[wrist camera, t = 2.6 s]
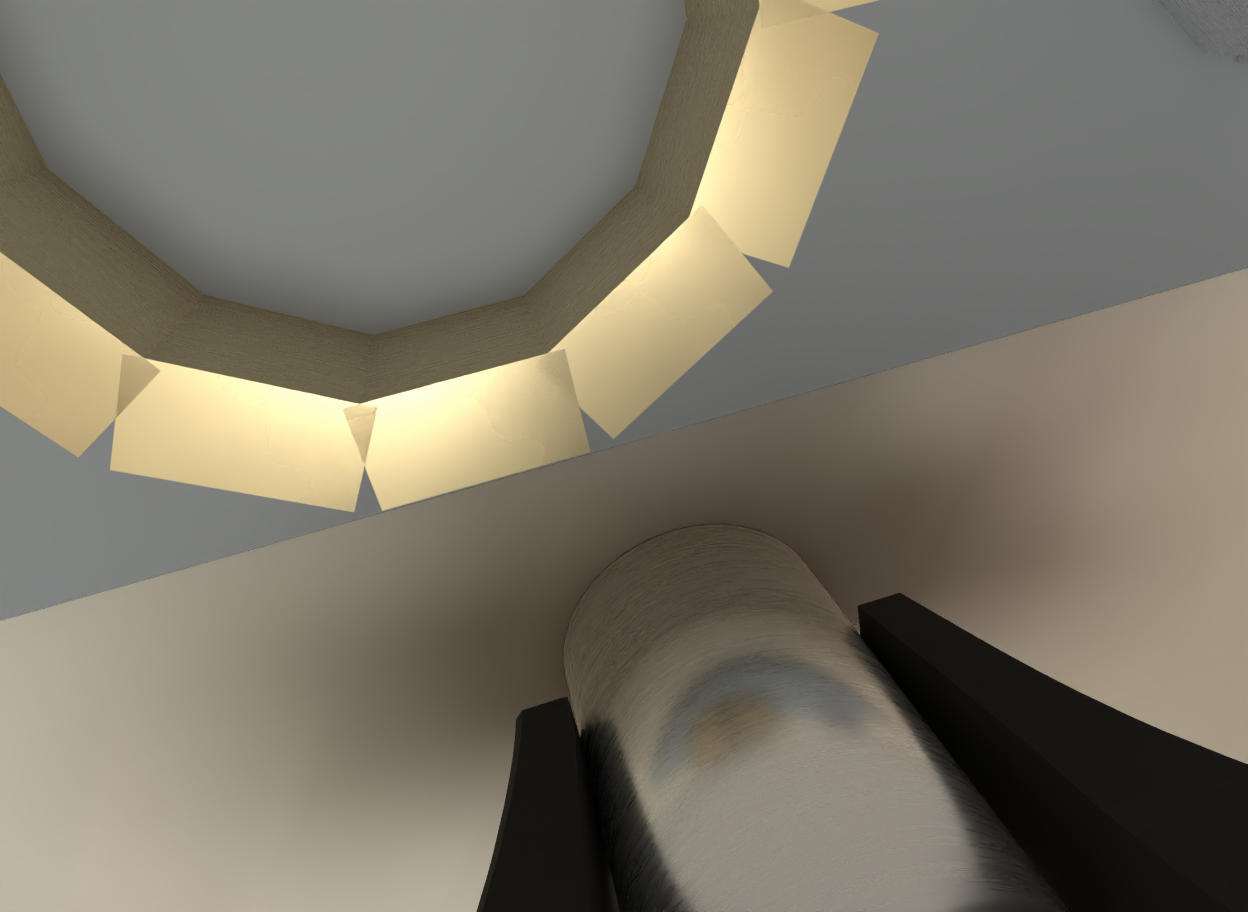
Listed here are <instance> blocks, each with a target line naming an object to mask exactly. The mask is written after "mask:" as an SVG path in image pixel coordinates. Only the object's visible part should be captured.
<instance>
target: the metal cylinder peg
mask: <svg viewBox="0 0 1248 912" xmlns="http://www.w3.org/2000/svg"><path fill="white" fill-rule="evenodd" d="M563 654H564V669H565V674H566V678H567V683H568V687H569V692H570V696H571V700H572V705H573V709H574V714H575V718H576V722H577V727H578V731H579V735H580V739H581V743H582V747H583V752H584V756H585V761H586V765H587V769H588V774H589V778H590V782H591V787H592V791H593V796H594V801H595V805H596V810H597V814H598V819H599V823H600V828H601V832H602V837H603V841H604V845H605V850H606V854H607V859H608V863H609V867H610V872H611V876H612V880H613V885H614V889H615V894H616V898H617V902H618V907H619V911H620V912H1069V910H1068V909H1067V908H1066V906H1065V905H1064V904H1063V902H1062V901H1061V900H1060V898H1059V897H1058V896H1057V894H1056V893H1055V892H1054V890H1053V889H1052V888H1051V886H1050V885H1049V884H1048V883H1047V881H1046V880H1045V879H1044V877H1043V876H1042V875H1041V873H1040V872H1039V871H1038V869H1037V868H1036V867H1035V865H1034V864H1033V863H1032V861H1031V860H1030V859H1029V857H1028V856H1027V855H1026V854H1025V852H1024V851H1023V850H1022V848H1021V847H1020V846H1019V844H1018V843H1017V842H1016V840H1015V839H1014V838H1013V836H1012V835H1011V834H1010V832H1009V831H1008V830H1007V828H1006V827H1005V826H1004V825H1003V823H1002V822H1001V821H1000V819H999V818H998V817H997V815H996V814H995V813H994V811H993V810H992V809H991V807H990V806H989V805H988V803H987V802H986V801H985V799H984V798H983V797H982V796H981V794H980V793H979V792H978V790H977V789H976V788H975V786H974V785H973V784H972V782H971V781H970V780H969V778H968V777H967V776H966V774H965V773H964V772H963V770H962V769H961V768H960V767H959V765H958V764H957V763H956V761H955V760H954V759H953V757H952V756H951V755H950V753H949V752H948V751H947V749H946V748H945V747H944V745H943V744H942V743H941V741H940V740H939V739H938V738H937V736H936V735H935V734H934V732H933V731H932V730H931V728H930V727H929V726H928V724H927V723H926V722H925V720H924V719H923V718H922V716H921V715H920V714H919V712H918V711H917V710H916V709H915V707H914V706H913V705H912V703H911V702H910V701H909V699H908V698H907V697H906V695H905V694H904V693H903V691H902V690H901V689H900V687H899V686H898V685H897V683H896V682H895V681H894V680H893V678H892V677H891V676H890V674H889V673H888V672H887V670H886V669H885V668H884V666H883V665H882V664H881V662H880V661H879V660H878V658H877V657H876V656H875V654H874V653H873V652H872V651H871V649H870V648H869V647H868V645H867V644H866V643H865V641H864V640H863V639H862V637H861V636H860V635H859V633H858V632H857V631H856V629H855V628H854V627H853V625H852V624H851V623H850V622H849V620H848V619H847V618H846V616H845V615H844V614H843V612H842V611H841V610H840V608H839V607H838V606H837V604H836V603H835V602H834V600H833V599H832V598H831V596H830V595H829V594H828V593H827V591H826V590H825V589H824V587H823V586H822V585H821V583H820V582H819V581H818V579H817V578H816V577H815V575H814V574H813V573H812V571H811V570H810V569H809V568H808V566H807V565H806V564H805V563H804V561H803V560H802V559H801V558H800V557H799V555H798V554H797V553H795V552H794V551H793V550H792V549H791V548H790V547H788V546H787V545H786V544H784V543H783V542H781V541H779V540H778V539H776V538H775V537H773V536H770V535H768V534H765V533H763V532H761V531H758V530H754V529H750V528H747V527H742V526H734V525H724V524H709V525H700V526H691V527H687V528H683V529H678V530H674V531H671V532H668V533H665V534H662V535H660V536H657V537H654V538H652V539H650V540H648V541H646V542H644V543H642V544H640V545H638V546H636V547H635V548H633V549H632V550H630V551H628V552H627V553H625V554H624V555H622V556H621V557H620V558H618V559H617V560H616V561H615V562H613V563H612V564H611V565H610V566H608V567H607V568H606V569H605V570H604V571H603V572H602V573H601V574H600V575H599V576H598V577H597V578H596V579H595V580H594V582H593V583H592V584H591V586H590V587H589V588H588V589H587V591H586V592H585V593H584V595H583V597H582V598H581V600H580V602H579V603H578V605H577V607H576V608H575V611H574V613H573V615H572V618H571V620H570V623H569V626H568V629H567V633H566V637H565V644H564V653H563Z"/></svg>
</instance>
